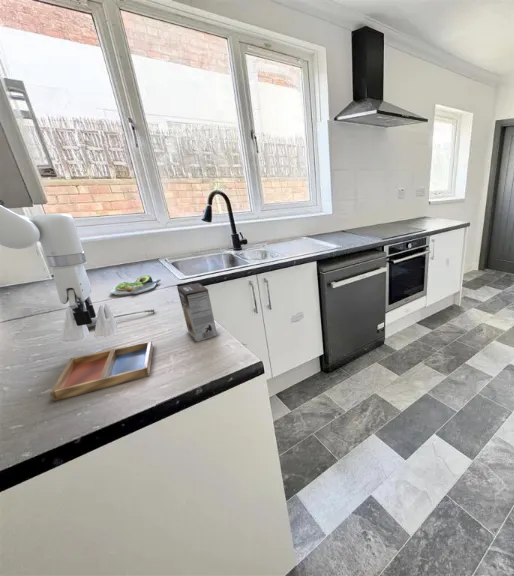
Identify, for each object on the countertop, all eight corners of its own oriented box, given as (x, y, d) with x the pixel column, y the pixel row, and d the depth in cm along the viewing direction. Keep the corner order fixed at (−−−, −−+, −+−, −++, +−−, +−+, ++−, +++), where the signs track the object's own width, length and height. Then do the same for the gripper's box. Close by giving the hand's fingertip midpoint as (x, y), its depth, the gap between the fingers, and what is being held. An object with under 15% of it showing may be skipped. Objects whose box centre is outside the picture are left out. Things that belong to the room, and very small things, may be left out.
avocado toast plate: (156, 293, 136) (153, 283, 135) (104, 300, 129) (101, 290, 127) (163, 281, 153) (160, 272, 151) (117, 286, 145) (114, 277, 144)
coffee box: (187, 332, 101) (176, 286, 96) (208, 326, 106) (199, 282, 100) (196, 342, 95) (184, 293, 90) (218, 335, 100) (208, 288, 94)
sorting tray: (53, 401, 70) (49, 392, 69) (73, 366, 84) (70, 358, 83) (149, 376, 79) (146, 368, 78) (153, 347, 93) (151, 340, 92)
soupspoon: (78, 328, 106) (76, 336, 102) (74, 319, 105) (72, 327, 100) (154, 309, 119) (156, 315, 114) (152, 301, 118) (153, 307, 113)
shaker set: (63, 346, 87) (49, 310, 83) (66, 341, 90) (53, 305, 86) (117, 335, 93) (107, 301, 90) (119, 330, 96) (109, 297, 93)
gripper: (57, 255, 89) (77, 314, 95) (36, 268, 75) (60, 335, 81) (92, 253, 93) (109, 309, 98) (77, 265, 79) (98, 329, 85)
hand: (86, 320), depth 90 cm, fingers closed on shaker set, 4 cm apart
